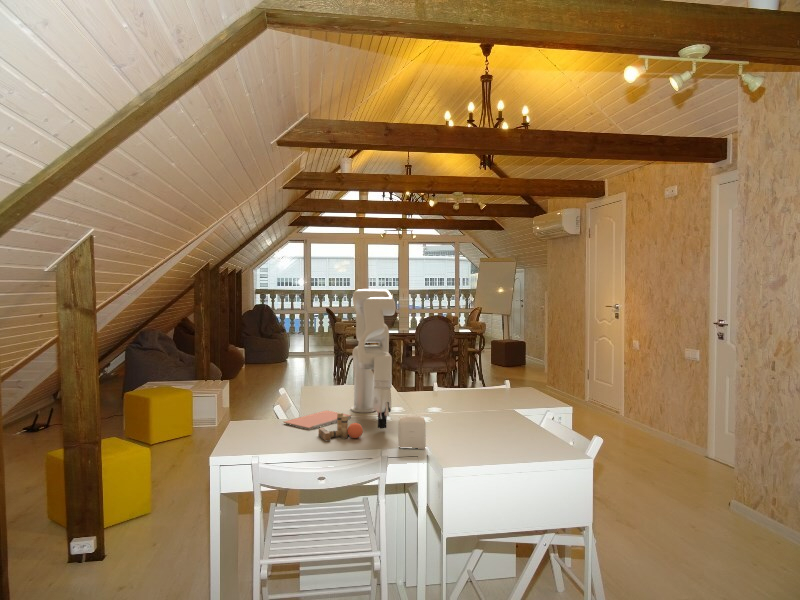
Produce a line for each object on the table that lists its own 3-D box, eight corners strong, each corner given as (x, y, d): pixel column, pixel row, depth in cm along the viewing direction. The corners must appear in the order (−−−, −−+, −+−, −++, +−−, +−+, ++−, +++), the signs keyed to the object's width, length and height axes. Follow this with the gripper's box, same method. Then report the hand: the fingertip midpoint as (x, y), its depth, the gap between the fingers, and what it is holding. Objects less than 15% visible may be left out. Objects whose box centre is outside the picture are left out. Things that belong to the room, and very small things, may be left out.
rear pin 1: (336, 433, 218) (336, 413, 218) (342, 433, 219) (342, 412, 219) (338, 435, 216) (338, 414, 215) (344, 434, 217) (344, 414, 216)
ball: (342, 430, 210) (351, 418, 212) (347, 434, 215) (356, 422, 217) (353, 439, 207) (363, 426, 209) (358, 442, 213) (367, 430, 214)
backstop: (318, 435, 215) (318, 428, 215) (323, 434, 216) (323, 427, 216) (325, 441, 207) (325, 433, 207) (330, 440, 208) (330, 433, 208)
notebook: (310, 432, 222) (310, 427, 222) (282, 425, 232) (282, 421, 232) (353, 419, 244) (353, 415, 244) (326, 413, 254) (326, 409, 254)
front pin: (348, 433, 217) (328, 435, 214) (348, 428, 217) (328, 430, 213) (350, 436, 215) (330, 438, 212) (350, 431, 215) (330, 433, 211)
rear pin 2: (340, 437, 213) (340, 416, 213) (346, 436, 214) (346, 415, 214) (342, 438, 211) (342, 417, 211) (348, 438, 212) (348, 416, 212)
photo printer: (398, 449, 198) (398, 416, 198) (398, 446, 202) (398, 413, 202) (425, 450, 198) (426, 416, 197) (425, 446, 202) (425, 414, 202)
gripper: (367, 381, 227) (367, 424, 228) (381, 387, 214) (381, 433, 214) (383, 380, 230) (383, 422, 231) (398, 386, 217) (397, 431, 217)
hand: (382, 427), depth 223 cm, fingers closed
